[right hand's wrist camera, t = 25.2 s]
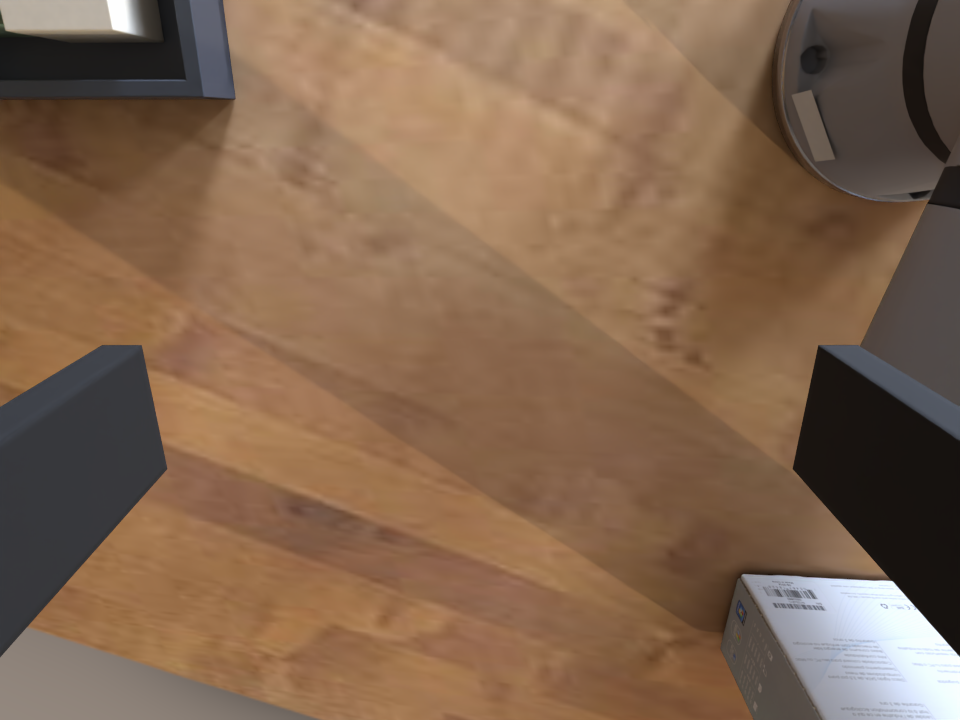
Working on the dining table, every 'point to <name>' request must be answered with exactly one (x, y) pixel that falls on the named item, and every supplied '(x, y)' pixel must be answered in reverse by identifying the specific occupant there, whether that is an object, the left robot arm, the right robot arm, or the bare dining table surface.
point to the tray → (126, 62)
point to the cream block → (85, 20)
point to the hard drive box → (837, 652)
